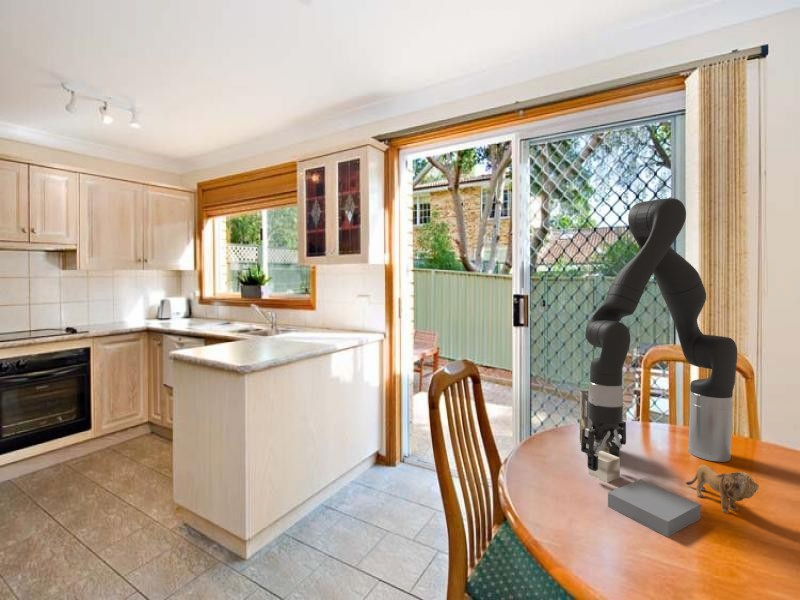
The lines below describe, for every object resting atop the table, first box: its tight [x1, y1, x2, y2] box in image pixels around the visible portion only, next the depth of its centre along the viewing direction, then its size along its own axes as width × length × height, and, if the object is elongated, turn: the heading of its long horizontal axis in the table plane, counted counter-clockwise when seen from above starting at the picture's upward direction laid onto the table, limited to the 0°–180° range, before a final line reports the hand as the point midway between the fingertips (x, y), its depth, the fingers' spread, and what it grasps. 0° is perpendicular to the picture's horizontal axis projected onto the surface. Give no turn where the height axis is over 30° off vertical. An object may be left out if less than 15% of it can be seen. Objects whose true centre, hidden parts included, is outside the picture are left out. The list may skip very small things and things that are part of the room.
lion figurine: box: [685, 464, 760, 514], centre depth 87 cm, size 15×5×9 cm, turn 14°
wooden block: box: [587, 451, 621, 483], centre depth 100 cm, size 5×5×5 cm
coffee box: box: [579, 390, 611, 456], centre depth 115 cm, size 9×6×16 cm
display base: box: [607, 478, 702, 538], centre depth 84 cm, size 12×12×3 cm
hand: (603, 465), depth 99 cm, fingers open, 8 cm apart
